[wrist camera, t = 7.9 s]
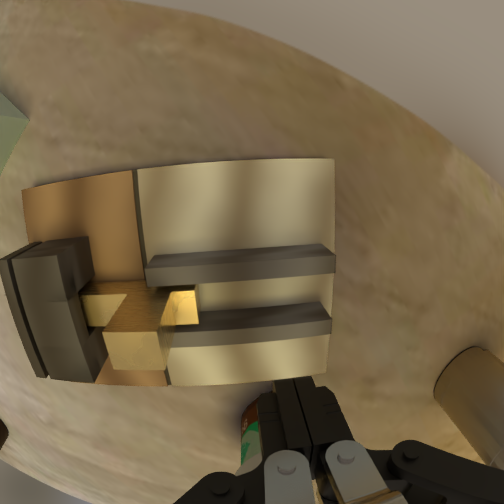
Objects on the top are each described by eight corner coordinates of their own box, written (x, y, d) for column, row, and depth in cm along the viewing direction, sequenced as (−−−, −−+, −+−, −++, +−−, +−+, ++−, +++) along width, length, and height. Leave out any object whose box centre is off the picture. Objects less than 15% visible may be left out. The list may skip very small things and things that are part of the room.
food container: (217, 388, 27) (219, 472, 18) (281, 377, 27) (304, 458, 18) (241, 457, 31) (248, 525, 21) (292, 448, 31) (309, 514, 21)
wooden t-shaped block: (197, 277, 21) (186, 330, 14) (200, 307, 22) (193, 369, 15) (53, 284, 20) (2, 327, 13) (60, 311, 21) (16, 360, 14)
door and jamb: (325, 159, 22) (365, 158, 16) (319, 360, 27) (343, 409, 20) (34, 187, 20) (-18, 198, 14) (78, 369, 25) (52, 415, 19)
